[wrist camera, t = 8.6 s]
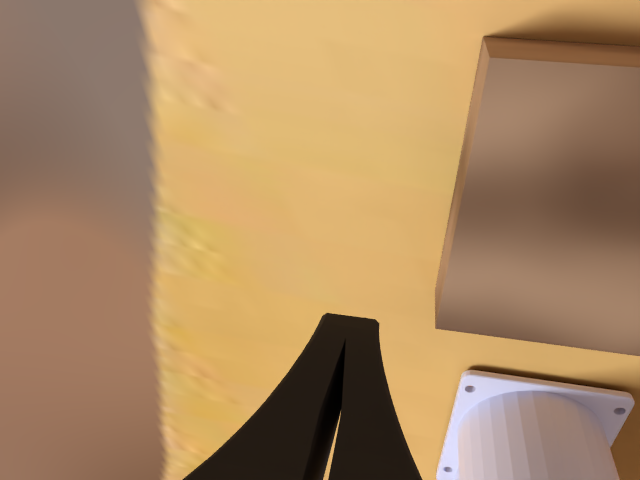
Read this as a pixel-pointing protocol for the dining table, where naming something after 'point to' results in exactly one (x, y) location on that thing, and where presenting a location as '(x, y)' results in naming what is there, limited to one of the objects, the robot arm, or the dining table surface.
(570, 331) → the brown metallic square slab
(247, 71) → the dining table surface
